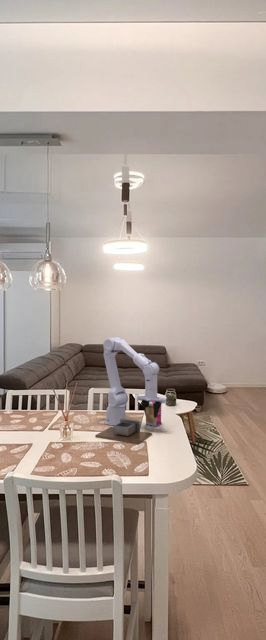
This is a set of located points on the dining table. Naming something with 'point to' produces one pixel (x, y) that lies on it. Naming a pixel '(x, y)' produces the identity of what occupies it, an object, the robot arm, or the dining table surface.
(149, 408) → the brown rectangular block
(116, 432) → the bracket
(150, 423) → the supplement box
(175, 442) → the dining table surface
